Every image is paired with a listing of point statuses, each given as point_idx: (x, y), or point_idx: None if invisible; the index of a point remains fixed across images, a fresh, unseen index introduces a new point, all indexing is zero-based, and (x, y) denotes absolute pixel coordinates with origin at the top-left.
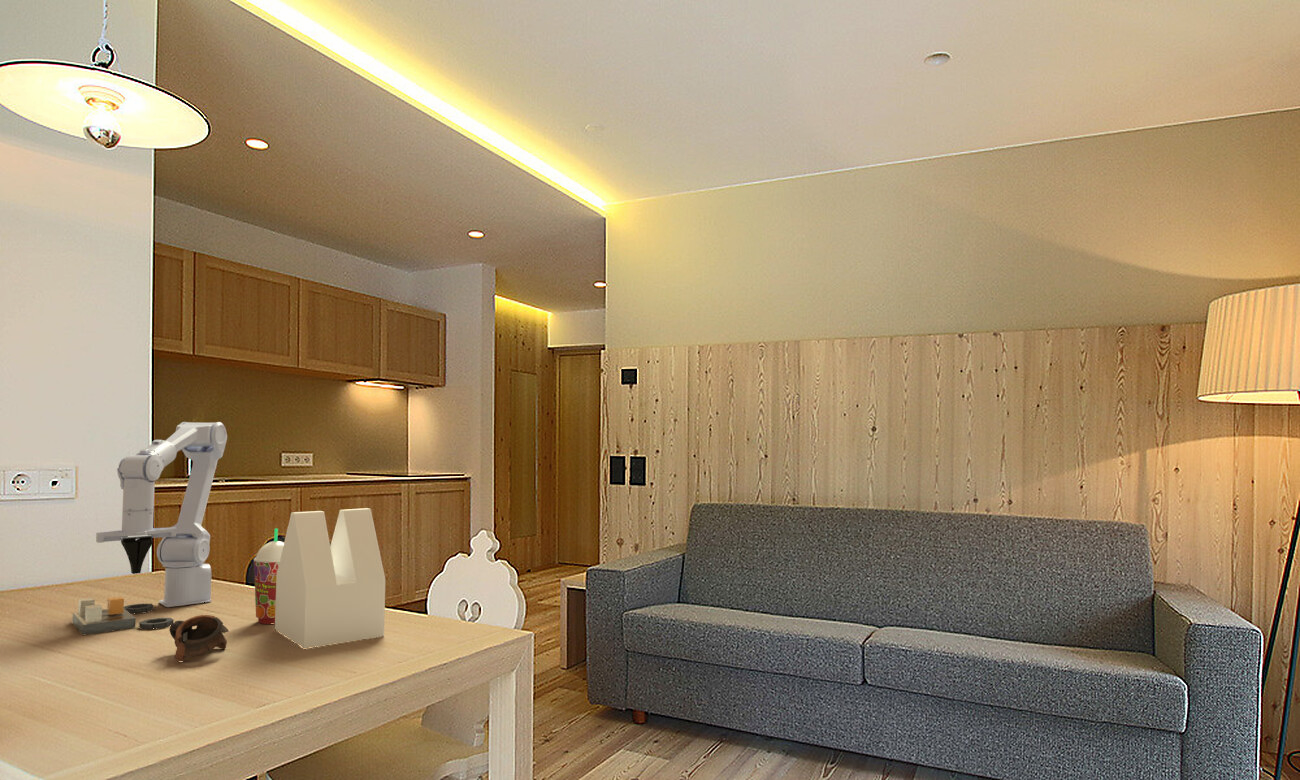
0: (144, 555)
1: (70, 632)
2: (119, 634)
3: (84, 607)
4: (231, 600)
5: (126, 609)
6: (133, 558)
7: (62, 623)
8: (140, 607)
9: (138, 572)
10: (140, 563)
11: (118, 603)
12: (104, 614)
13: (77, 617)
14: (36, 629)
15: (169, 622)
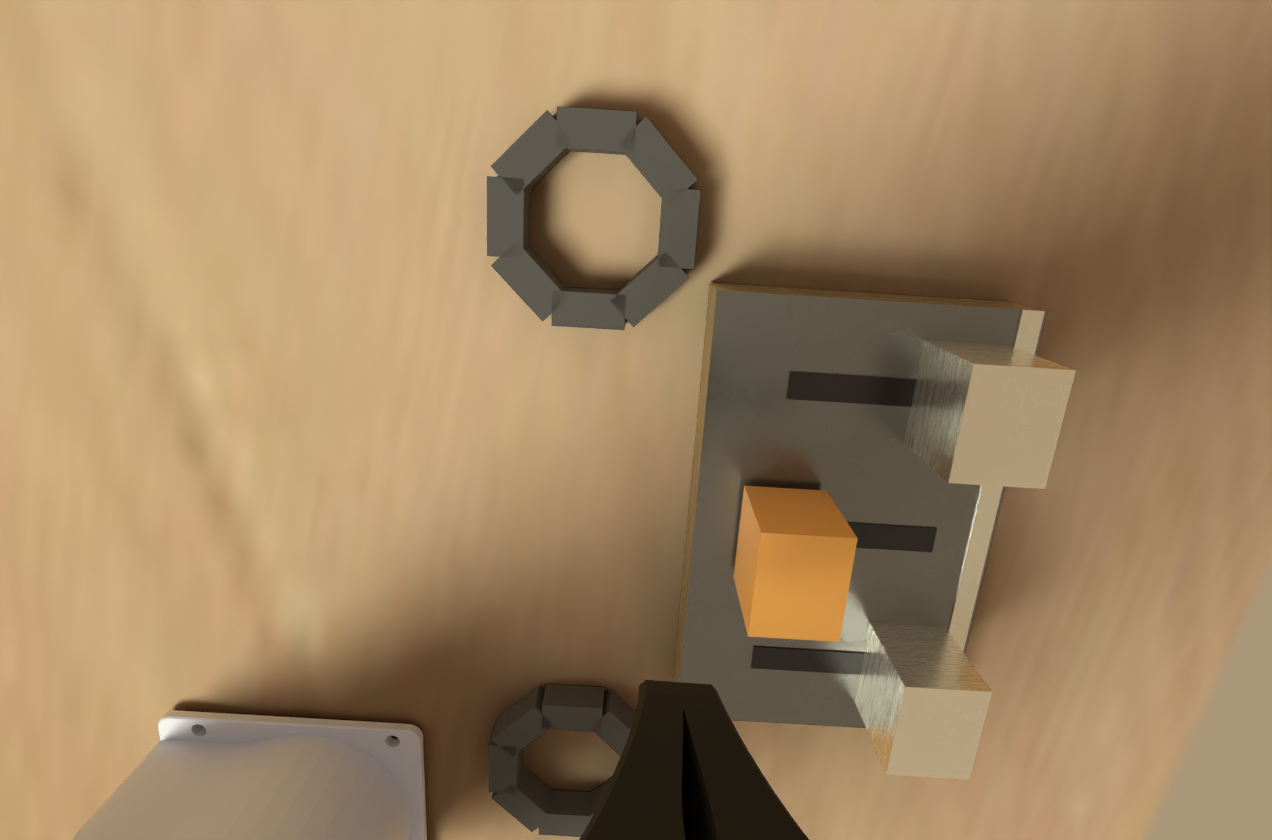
0: (604, 833)
1: None
2: (845, 140)
3: (947, 658)
4: (49, 686)
5: None
6: (758, 818)
7: None
8: (546, 797)
9: (662, 686)
10: (653, 746)
11: (792, 518)
12: None
13: (979, 583)
14: (1107, 656)
15: (525, 134)
